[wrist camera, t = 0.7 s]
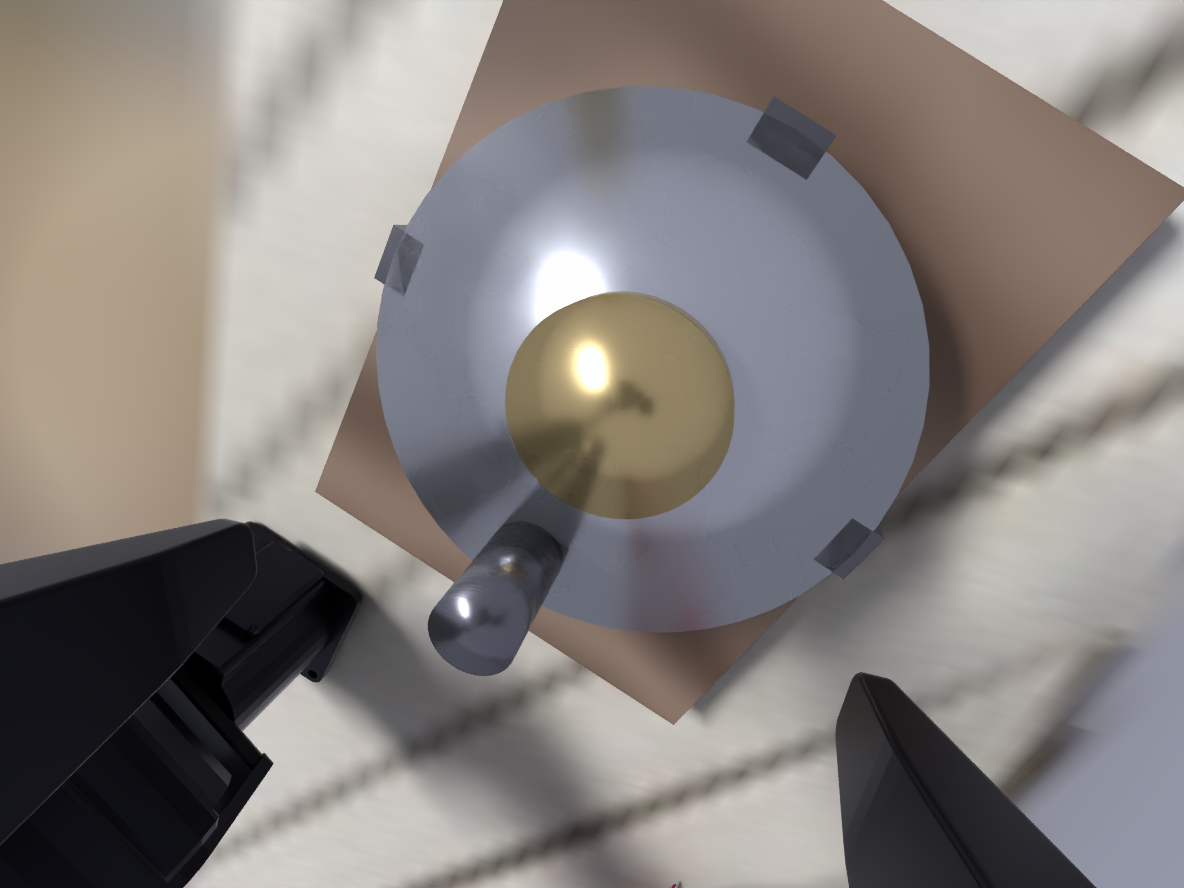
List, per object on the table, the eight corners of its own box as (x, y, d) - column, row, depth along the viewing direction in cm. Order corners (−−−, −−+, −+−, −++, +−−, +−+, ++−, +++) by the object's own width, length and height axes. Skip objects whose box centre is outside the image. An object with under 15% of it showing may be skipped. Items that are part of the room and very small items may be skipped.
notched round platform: (539, -26, 14) (402, -207, 9) (1053, 297, 14) (1279, 341, 8) (352, 440, 21) (201, 520, 15) (704, 668, 21) (691, 841, 15)
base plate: (677, 696, 23) (673, 725, 22) (339, 476, 24) (315, 491, 22) (1148, 196, 14) (1191, 191, 13) (591, -150, 15) (576, -190, 13)
